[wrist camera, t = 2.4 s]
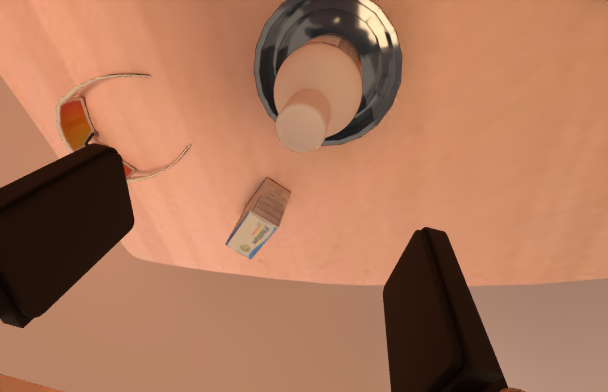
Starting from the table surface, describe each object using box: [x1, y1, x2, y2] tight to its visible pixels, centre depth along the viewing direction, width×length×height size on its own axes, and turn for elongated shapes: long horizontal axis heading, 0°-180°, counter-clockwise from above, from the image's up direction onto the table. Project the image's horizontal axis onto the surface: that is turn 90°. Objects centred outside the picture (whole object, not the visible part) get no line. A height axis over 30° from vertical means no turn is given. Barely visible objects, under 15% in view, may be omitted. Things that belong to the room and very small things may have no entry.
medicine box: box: [226, 178, 290, 259], centre depth 41 cm, size 8×4×9 cm, turn 147°
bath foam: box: [274, 33, 363, 153], centre depth 24 cm, size 7×7×20 cm
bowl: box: [254, 0, 402, 146], centre depth 30 cm, size 14×14×6 cm
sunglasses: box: [56, 74, 191, 183], centre depth 39 cm, size 14×15×5 cm
